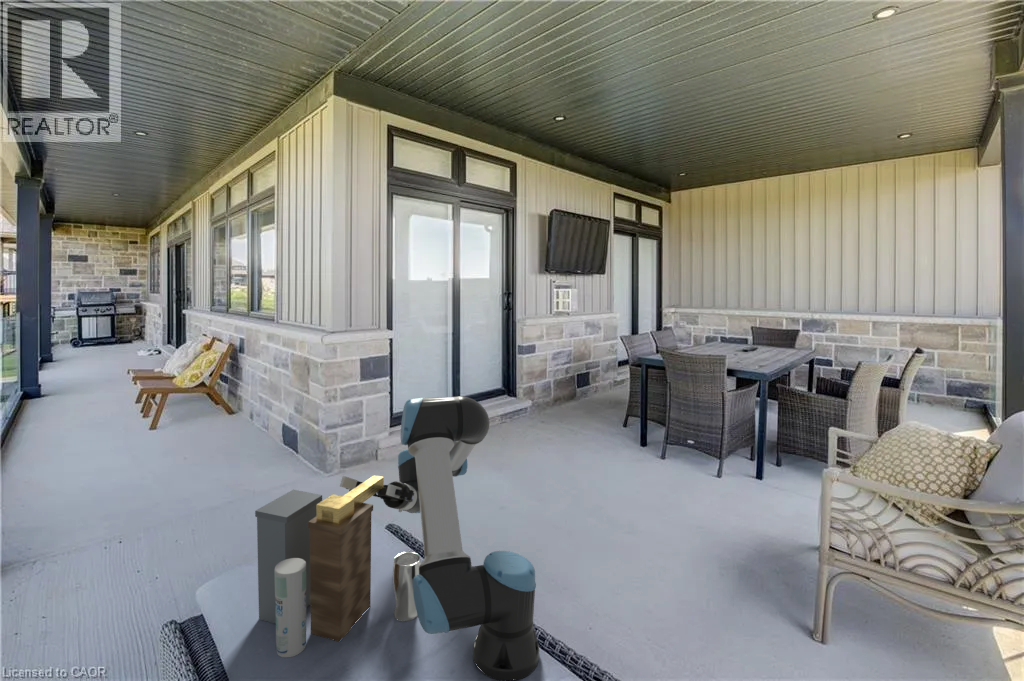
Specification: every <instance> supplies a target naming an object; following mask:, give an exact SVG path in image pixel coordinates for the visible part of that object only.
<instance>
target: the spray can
mask: <svg viewBox="0 0 1024 681" xmlns="http://www.w3.org/2000/svg"><path fill="white" fill-rule="evenodd" d="M274 572H275V615H276V624H275V647H276V648H275V650H276V654H277V655H278V656H279V657H281V658H293V657H295V656H297V655H299V654H301V653H302V652H303V651H304V650H305V648H306V645H307V608H306V562H305V561H304V560H303V559H300V558H290V559H286V560H283V561H281V562H279V563H278V564H277V565H276V566H275V570H274Z"/></svg>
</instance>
